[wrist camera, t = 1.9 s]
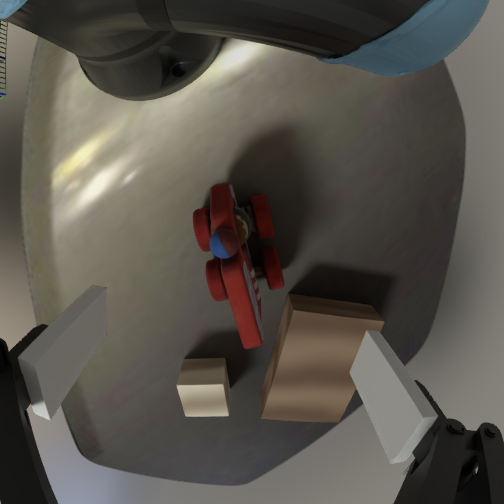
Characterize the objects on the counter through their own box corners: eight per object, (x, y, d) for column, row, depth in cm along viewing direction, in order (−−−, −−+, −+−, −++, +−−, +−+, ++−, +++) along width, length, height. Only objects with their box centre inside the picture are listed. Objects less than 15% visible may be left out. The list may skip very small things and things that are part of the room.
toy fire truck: (260, 173, 29) (270, 179, 19) (284, 290, 33) (301, 344, 23) (190, 189, 30) (164, 203, 20) (220, 303, 33) (212, 361, 23)
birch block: (183, 358, 35) (176, 385, 30) (225, 357, 35) (223, 384, 30) (191, 389, 36) (185, 416, 32) (229, 388, 36) (228, 415, 32)
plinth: (288, 292, 33) (293, 310, 29) (371, 305, 34) (384, 321, 30) (259, 396, 37) (261, 418, 33) (332, 401, 38) (338, 422, 34)
